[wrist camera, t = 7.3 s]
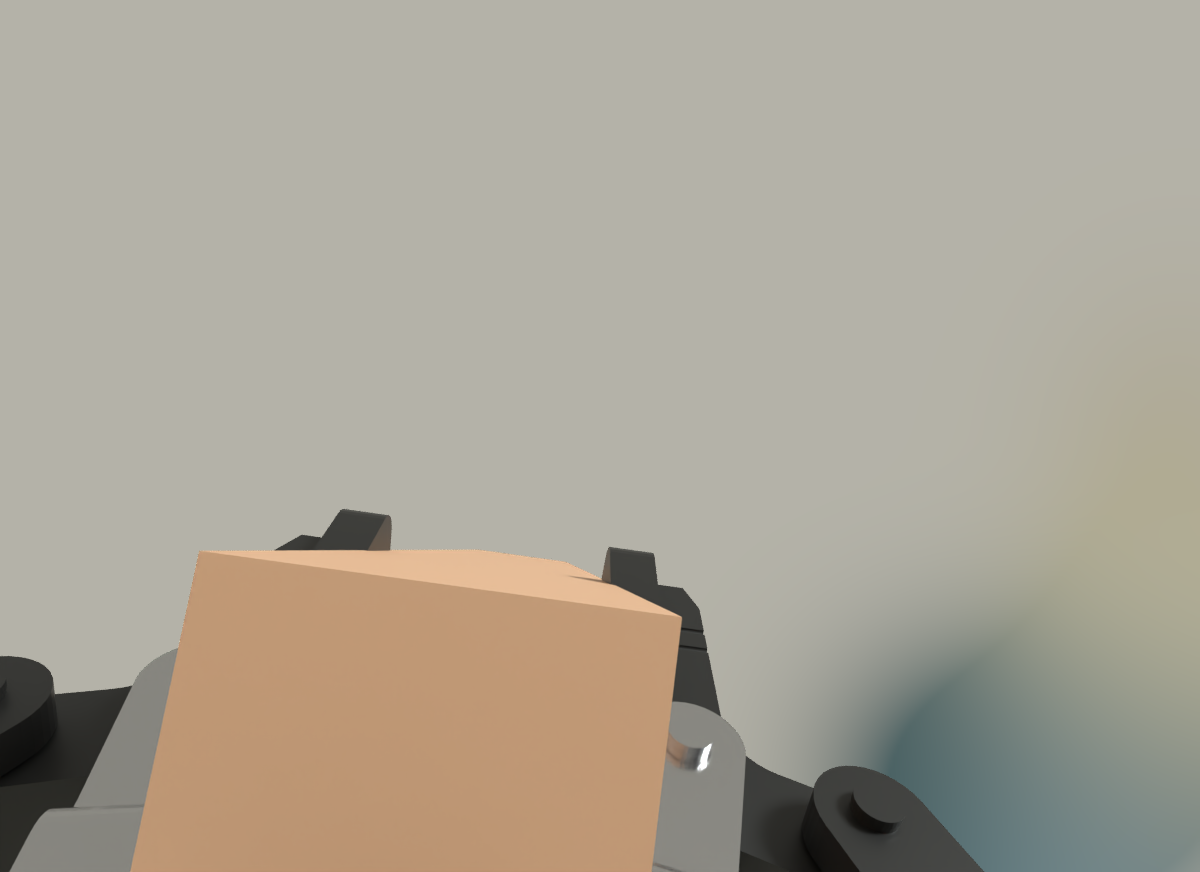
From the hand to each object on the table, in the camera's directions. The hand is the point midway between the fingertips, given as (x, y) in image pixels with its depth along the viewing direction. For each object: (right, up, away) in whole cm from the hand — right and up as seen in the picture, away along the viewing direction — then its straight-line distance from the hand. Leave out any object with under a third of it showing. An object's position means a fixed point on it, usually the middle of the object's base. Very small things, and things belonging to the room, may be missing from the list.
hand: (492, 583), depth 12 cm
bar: (-1, -4, +5) cm, 7 cm away
